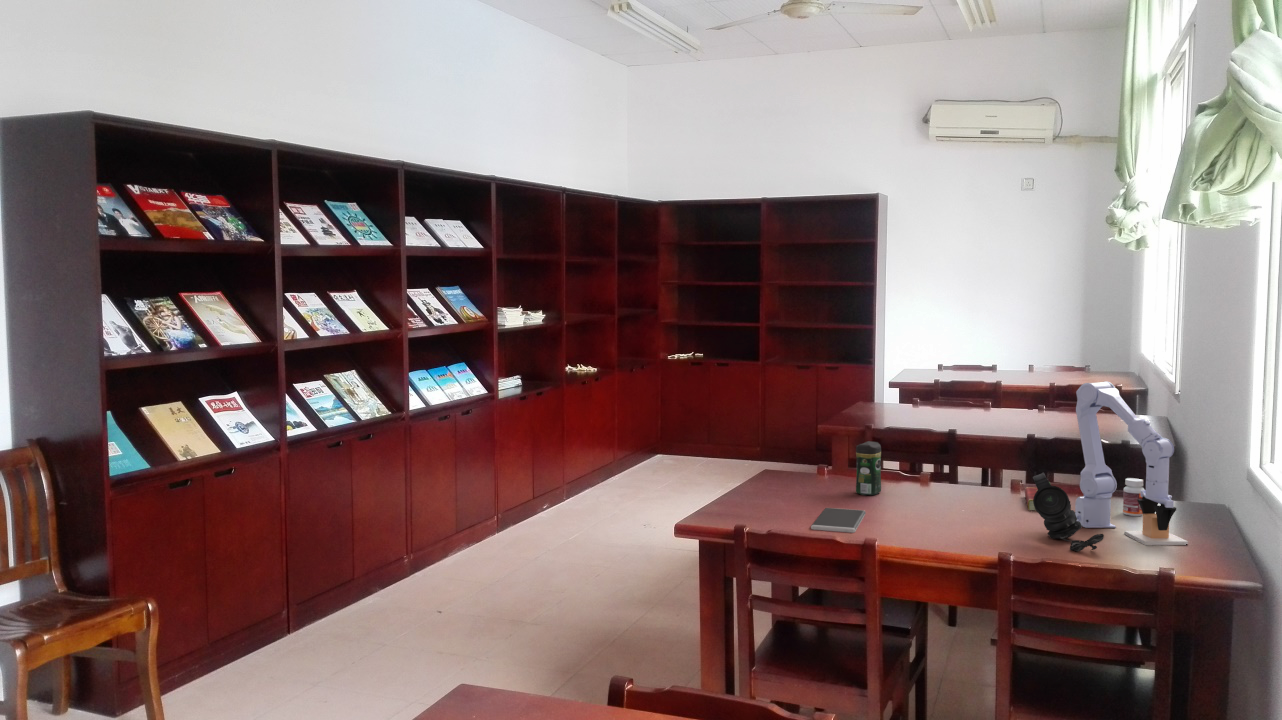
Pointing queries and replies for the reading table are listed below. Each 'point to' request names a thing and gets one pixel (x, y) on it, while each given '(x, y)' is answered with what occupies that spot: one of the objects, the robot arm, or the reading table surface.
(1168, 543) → the post plate
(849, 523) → the smartphone
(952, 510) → the reading table surface
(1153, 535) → the tan wooden cube
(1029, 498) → the hardcover book
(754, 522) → the reading table surface
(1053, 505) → the headset
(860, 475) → the coffee jar
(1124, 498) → the pill bottle
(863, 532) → the reading table surface
